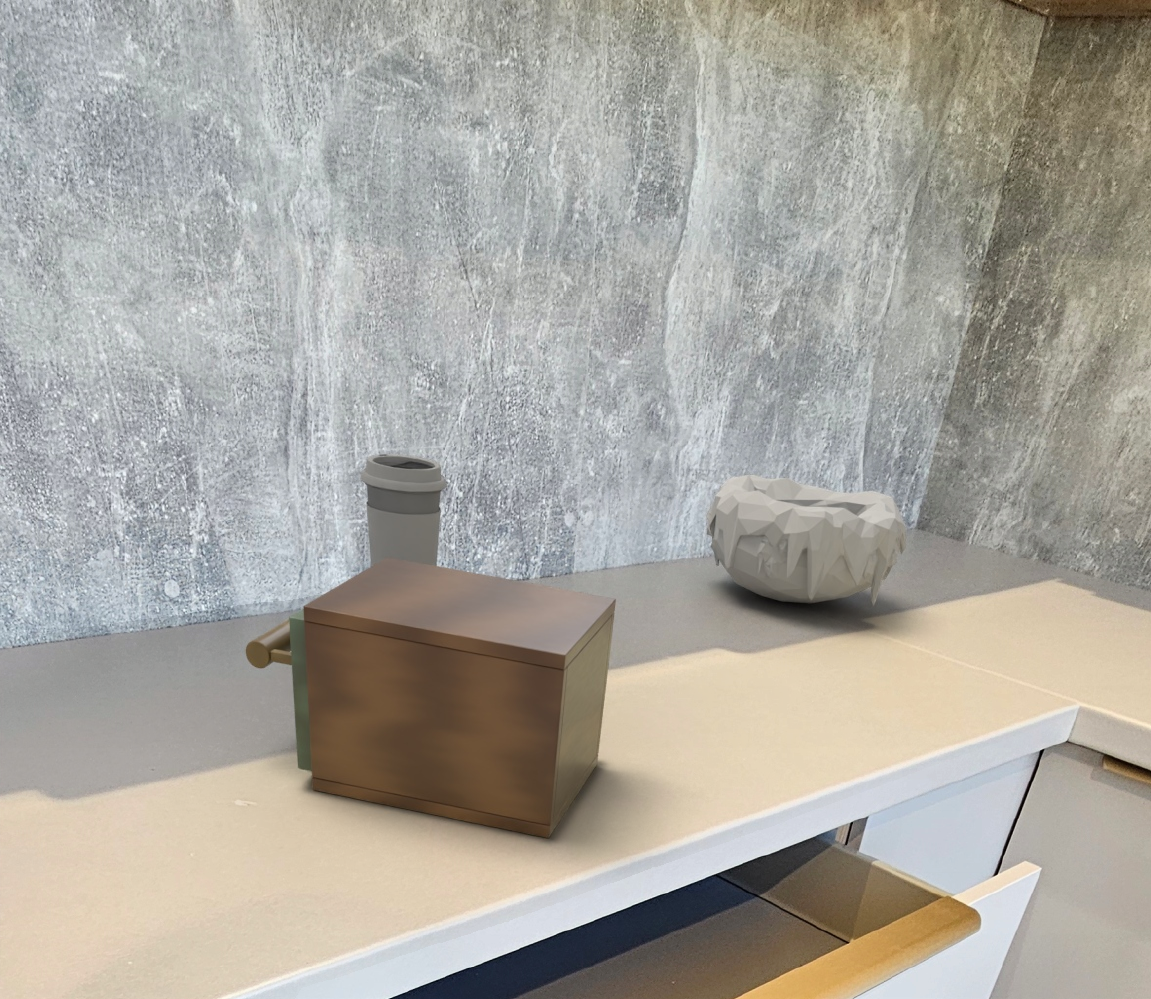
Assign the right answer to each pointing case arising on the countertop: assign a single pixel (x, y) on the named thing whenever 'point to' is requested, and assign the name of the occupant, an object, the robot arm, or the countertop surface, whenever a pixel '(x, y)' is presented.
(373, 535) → the cup
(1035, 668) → the countertop surface
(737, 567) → the bowl
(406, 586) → the cabinet
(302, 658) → the drawer
